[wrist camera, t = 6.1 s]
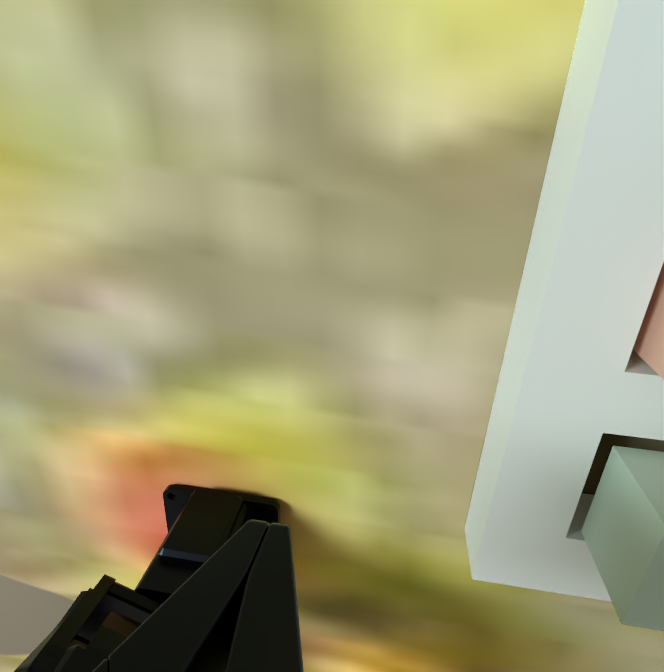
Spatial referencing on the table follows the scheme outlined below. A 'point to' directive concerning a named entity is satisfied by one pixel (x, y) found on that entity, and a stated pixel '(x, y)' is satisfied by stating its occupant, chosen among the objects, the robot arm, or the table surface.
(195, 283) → the table surface
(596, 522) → the button sage
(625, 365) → the panel
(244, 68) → the table surface
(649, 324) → the button terracotta
